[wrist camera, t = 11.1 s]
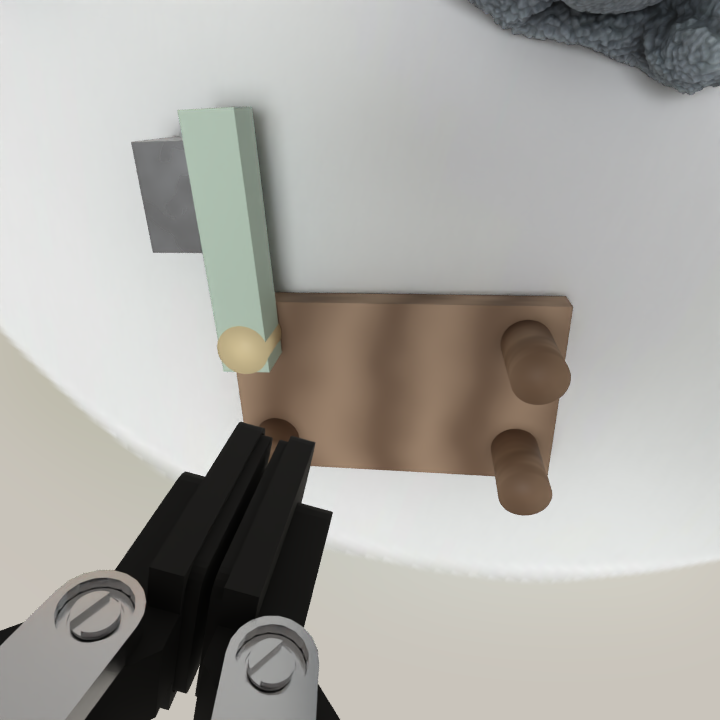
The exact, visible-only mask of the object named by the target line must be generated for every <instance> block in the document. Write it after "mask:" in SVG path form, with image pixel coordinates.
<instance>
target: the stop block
mask: <svg viewBox="0 0 720 720" xmlns="http://www.w3.org/2000/svg"><path fill="white" fill-rule="evenodd" d="M131 144H132V149H133V154H134V159H135V164H136V169H137V174H138V179H139V184H140V189H141V194H142V199H143V204H144V209H145V214H146V220H147V225H148V230H149V235H150V240H151V245H152V250H153V253H202V246H201V241H200V235H199V229H198V224H197V218H196V212H195V207H194V201H193V195H192V190H191V184H190V178H189V173H188V167H187V161H186V156H185V150H184V144H183V139H182V137H168V138H160V139H152V140H144V141H135V142H131Z"/></svg>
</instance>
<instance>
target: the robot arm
mask: <svg viewBox="0 0 720 720" xmlns="http://www.w3.org/2000/svg"><path fill="white" fill-rule="evenodd" d="M272 441H273V438H272V437H269V436H265V428H262V427H258V426H255V425H251V424H247V423H244V422H239V423H238V425H237V426H236V428H235V430H234V431H233V433H232V434H231V436H230V438H229V439H228V441H227V442H226V444H225V446H224V447H223V449H222V450H221V452H220V454H219V455H218V457H217V459H216V460H215V462H214V463H213V465H212V467H211V468H210V470H209V471H208V473H207V475H206V476H205V477H204V476H200V475H196V474H193V473H189V472H184V473H182V474H181V476H180V477H179V478H178V479H177V481H176V482H175V484H174V485H173V487H172V488H171V490H170V491H169V493H168V494H167V495H166V497H165V498H164V500H163V501H162V503H161V504H160V506H159V507H158V509H157V510H156V511H155V513H154V514H153V516H152V517H151V519H150V520H149V522H148V523H147V524H146V526H145V528H144V529H143V530H142V532H141V533H140V535H139V536H138V537H137V539H136V541H135V542H134V543H133V545H132V546H131V548H130V549H129V551H128V552H127V553H126V555H125V556H124V558H123V559H122V561H121V562H120V564H119V565H118V566H117V568H116V569H115V570H97V571H93V572H89V573H84V574H82V575H79V576H77V577H75V578H73V579H71V580H69V581H68V582H66V583H65V584H64V585H63V586H61V587H60V588H59V589H57V590H56V591H55V592H54V593H53V594H52V595H51V596H50V597H49V598H48V599H47V600H46V601H45V602H44V603H43V604H42V605H41V606H40V607H39V608H38V609H37V610H36V611H35V612H34V613H33V614H32V615H31V616H30V617H29V618H28V619H27V620H26V621H25V622H23V623H20V624H18V625H15V626H12V627H9V628H7V629H4V630H1V631H0V720H151V719H153V718H155V717H156V715H157V713H158V711H159V709H160V708H163V709H166V710H169V708H170V706H171V704H172V701H173V699H174V697H175V694H176V692H177V691H180V692H183V693H187V692H188V690H189V688H190V686H191V684H192V681H193V679H194V677H195V675H196V672H197V670H198V667H199V665H200V667H199V674H198V680H197V687H196V693H195V696H197V701H196V707H195V714H194V720H340V719H339V717H338V715H337V714H336V712H335V711H334V709H333V707H332V706H331V704H330V702H329V701H328V700H327V698H326V696H325V694H324V693H323V691H322V690H321V688H320V686H319V685H318V672H319V660H318V650H317V647H316V645H315V643H314V641H313V639H312V637H311V636H310V634H309V633H308V632H307V631H306V630H305V629H304V625H305V621H306V617H307V613H308V609H309V605H310V601H311V597H312V593H313V589H314V585H315V581H316V577H317V573H318V569H319V565H320V561H321V557H322V553H323V550H324V546H325V542H326V538H327V534H328V530H329V526H330V522H331V518H332V514H333V512H331V511H327V510H324V509H320V508H316V507H313V506H309V505H305V504H302V503H301V502H302V498H303V494H304V490H305V486H306V482H307V477H308V473H309V469H310V465H311V461H312V457H313V453H314V448H315V443H316V442H313V441H309V440H306V439H302V438H298V437H295V436H291V437H290V439H289V441H288V442H287V441H284V440H279V442H278V444H277V446H276V448H275V450H274V452H273V454H272V457H271V459H270V461H269V456H270V451H271V446H272ZM268 462H269V463H268Z"/></svg>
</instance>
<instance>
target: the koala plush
mask: <svg viewBox="0 0 720 720" xmlns="http://www.w3.org/2000/svg"><path fill="white" fill-rule="evenodd" d="M468 1H469V2H470V3H472V4H473V3H475V6H476V7H477V8H480V9H482V11H484V13H485V14H489V13H491V15H492V17H493V18H494V22H495V23H496V24H499V25H501V26H502V29H507V28H512V34H521V33H523V35H525V36H526V37H527V38H532V37H534V38H535V39H541V40H545V39H546V38H549V39H551V40H554V39H555V40H556V41H557V42H564V43H565V44H567V45H570V44H575V43H576V44H577V45H582V46H583V47H590V48H592V49H593V50H595V51H599V52H601V53H603V54H604V55H606V56H609V57H610V58H611V59H612V58H614V59H616V61H618V62H621V63H624V62H625V63H626V64H627V63H628V64H629V66H636V67H638V68H639V67H640V68H641V70H642V71H644V72H645V73H647V74H648V76H649V77H652V78H653V79H654V80H657V81H658V83H659V82H660V83H662V84H663V85H664V86H669V87H674V88H675V89H677V90H678V91H679V92H681V93H682V94H683V93H687V94H689V95H692V94H694V93H695V92H697V91H700V90H702V89H703V88H704V87H706V86H713V87H717V86H720V0H468Z"/></svg>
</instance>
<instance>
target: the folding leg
mask: <svg viewBox="0 0 720 720" xmlns="http://www.w3.org/2000/svg"><path fill="white" fill-rule="evenodd" d="M178 116H179V122H180V127H181V133H182V139H183V144H184V150H185V156H186V161H187V167H188V173H189V178H190V184H191V190H192V195H193V201H194V207H195V212H196V218H197V224H198V229H199V235H200V241H201V246H202V252H203V258H204V263H205V269H206V275H207V280H208V286H209V292H210V297H211V303H212V309H213V314H214V320H215V326H216V331H217V337H218V344H217V349H218V354H219V357H220V359H221V360H222V365H223V371H224V372H237V373H241V374H252V373H255V372H270V371H271V369H272V367H273V366H274V364H275V363H276V361H277V359H278V358H279V356H280V355H281V353H282V349H281V341H280V340H281V328H280V325H279V323H278V317H277V308H276V300H275V292H274V284H273V276H272V267H271V259H270V251H269V243H268V235H267V226H266V218H265V210H264V202H263V194H262V185H261V177H260V169H259V161H258V153H257V144H256V136H255V128H254V120H253V112H252V107H225V108H207V109H189V110H178Z"/></svg>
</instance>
